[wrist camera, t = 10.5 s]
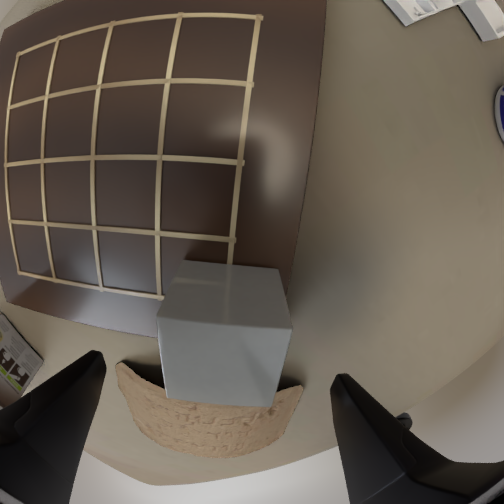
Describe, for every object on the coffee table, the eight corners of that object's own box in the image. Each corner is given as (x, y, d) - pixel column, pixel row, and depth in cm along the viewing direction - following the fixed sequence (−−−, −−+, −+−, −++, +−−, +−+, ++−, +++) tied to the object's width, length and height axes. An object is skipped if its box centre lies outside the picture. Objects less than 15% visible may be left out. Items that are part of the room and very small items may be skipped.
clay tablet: (136, 424, 21) (131, 445, 19) (112, 356, 17) (100, 381, 15) (282, 438, 22) (285, 460, 20) (307, 374, 18) (314, 402, 16)
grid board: (272, 334, 17) (275, 351, 15) (16, 292, 15) (5, 302, 14) (320, -2, 9) (328, -15, 8) (16, 32, 8) (2, 29, 6)
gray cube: (265, 341, 15) (271, 407, 11) (182, 334, 14) (166, 398, 10) (278, 268, 13) (294, 329, 9) (181, 259, 13) (155, 316, 8)
